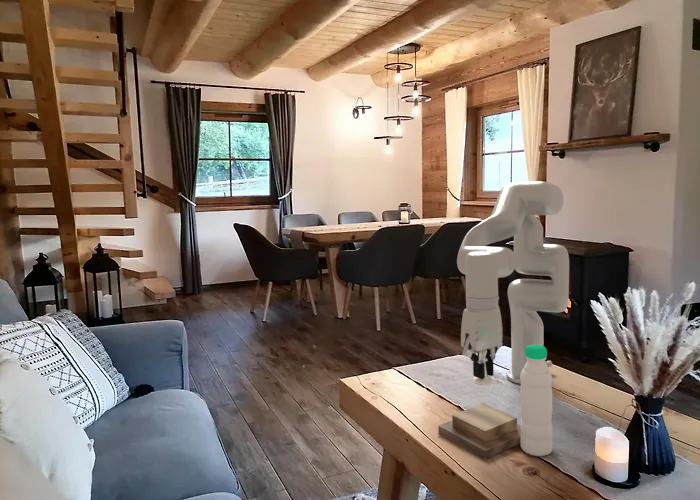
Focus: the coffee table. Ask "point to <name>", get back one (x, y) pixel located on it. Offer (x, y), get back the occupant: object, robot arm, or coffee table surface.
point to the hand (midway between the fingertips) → (483, 375)
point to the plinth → (478, 444)
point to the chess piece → (487, 379)
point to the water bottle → (536, 403)
